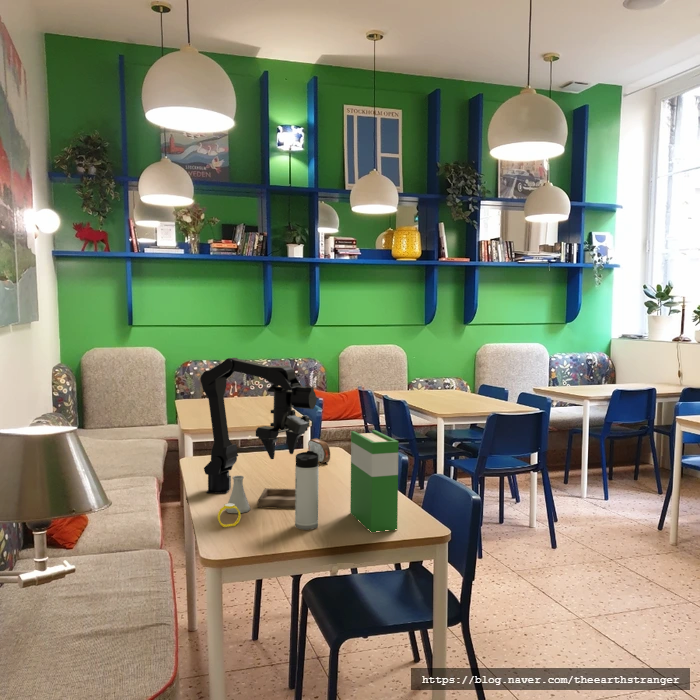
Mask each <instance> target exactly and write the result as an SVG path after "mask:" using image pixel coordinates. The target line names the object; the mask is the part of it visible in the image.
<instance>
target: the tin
mask: <svg viewBox="0 0 700 700" xmlns="http://www.w3.org/2000/svg"><path fill="white" fill-rule="evenodd" d="M307 448H308V449H307V451H314V453H317V454H318V461H319V462H318V463H320V462H321V463H320V464H325V462H327V463H329V462H330V460H331V449H330V446H329V444H328V443H327V442H326V441H325V440H322V439H319V438H317V437H315V438H312V439H310V440H308V442H307Z"/></svg>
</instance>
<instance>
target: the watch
mask: <svg viewBox="0 0 700 700" xmlns="http://www.w3.org/2000/svg"><path fill="white" fill-rule="evenodd" d="M226 508H227V509H231V508H235V509H237V511H238V513H237V515H238V516H237V519H236V520H235V521H234V523H226V524H224V523H222V521H221V515H222V512H223V511H225V510H226ZM241 515H242V514H241V513H240V511H239V510H238V508H237V507H236V506H235V505H234V504H232V503H228V502H227V503H225V504H224V505H223V506H222V507H221V508H220V509H219V511H218V513H217V521H218V522H219V525H220V526H222V527H223V528H230V527H236V525H237V524H239V522H240V521H241Z"/></svg>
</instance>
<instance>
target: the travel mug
mask: <svg viewBox="0 0 700 700" xmlns="http://www.w3.org/2000/svg"><path fill="white" fill-rule="evenodd" d="M319 467H320V466H319V462H318V454H317V453H314V451H308V450H307V451H303V452H302V451H301V452H300V453H297V454H296V455H295V468H294V469H295V470H294V471H295V473H294V474H295V475H294V476H295V477H294V483H295V487H294V489H295V508H294V511H295V512H294V527H295V528H297V529H298V530H302V529H303V531H308V530H309V529H311V530H314V528H315V529H316V528H318V526H319V476H320V475H319V472H320V471H319Z"/></svg>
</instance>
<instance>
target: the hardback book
mask: <svg viewBox="0 0 700 700" xmlns="http://www.w3.org/2000/svg"><path fill="white" fill-rule="evenodd" d="M371 431H372V432H367V433H366V432H364V433H359V432H357V431H354V430H351V431H350V511H349V513H350V514H351V516H353V517H354V518H355V519H356V520H357V521H358V520H359V521H360V522H361V523H362V524H363V525H364V526H365V527H366V528H367V529H369V530H370V531H371V532H376V531H385V530H395V529H397V530H398V510H399V509H398V507H399V506H398V505H399V502H398V499H399V497H398V496H399V440H397V439H395V438H392V437H390V436H388V435H386V434H384V433H382V432H380V431H378V430H376V429H373V430H371ZM359 521H358V522H359ZM360 522H359V523H360ZM361 523H360V524H361ZM362 524H361V525H362ZM363 525H362V526H363ZM364 526H363V527H364ZM365 527H364V528H365ZM366 528H365V529H366ZM367 529H366V530H367ZM369 530H368V531H369ZM370 531H369V532H370ZM371 532H370V533H371Z"/></svg>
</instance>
